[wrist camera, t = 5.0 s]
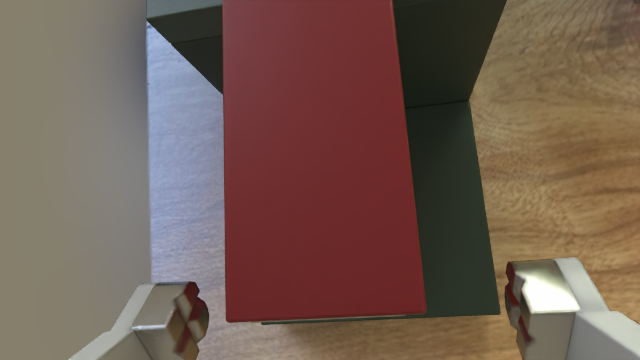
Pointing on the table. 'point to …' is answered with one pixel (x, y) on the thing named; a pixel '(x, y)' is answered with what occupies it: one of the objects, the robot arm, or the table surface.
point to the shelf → (422, 129)
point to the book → (316, 164)
